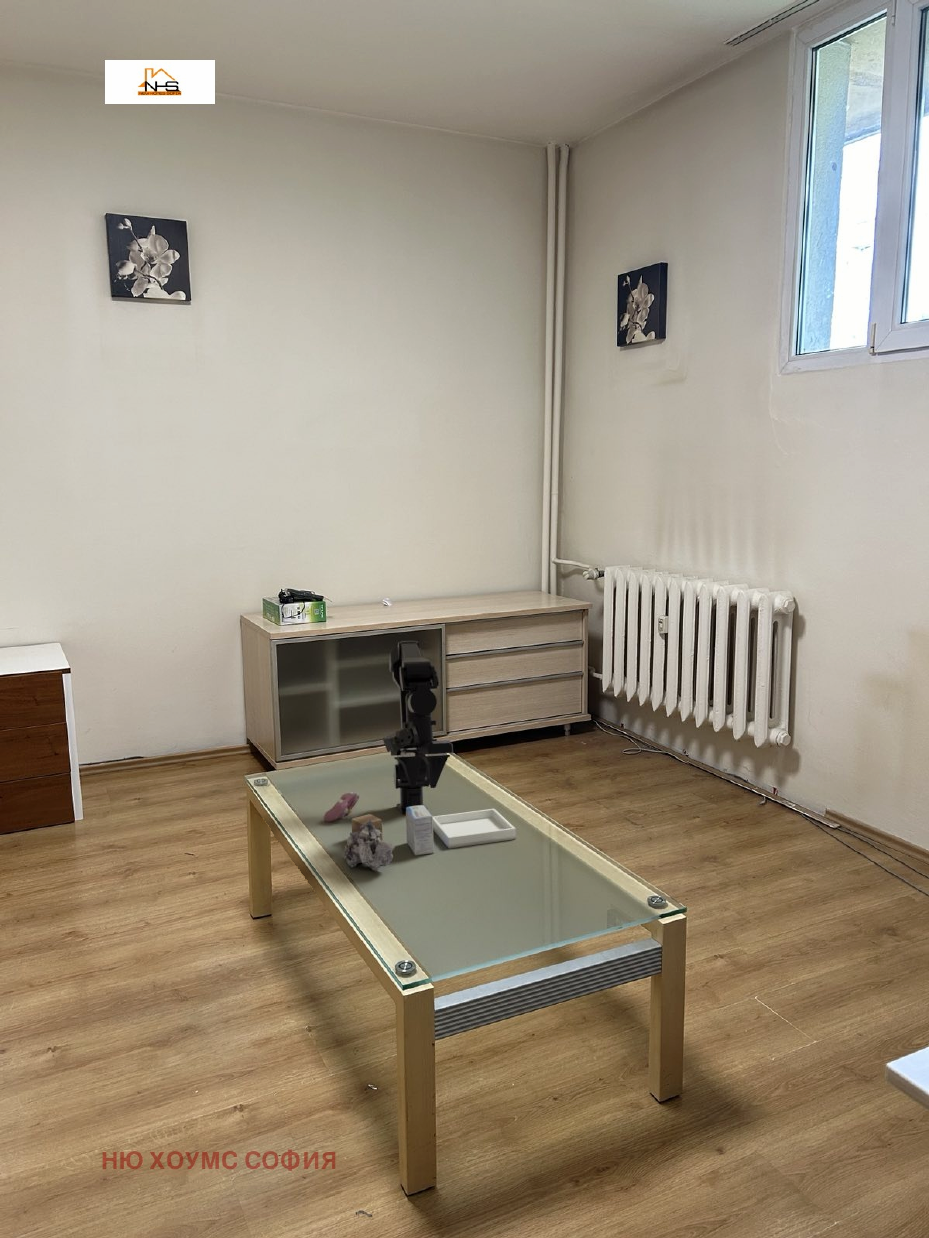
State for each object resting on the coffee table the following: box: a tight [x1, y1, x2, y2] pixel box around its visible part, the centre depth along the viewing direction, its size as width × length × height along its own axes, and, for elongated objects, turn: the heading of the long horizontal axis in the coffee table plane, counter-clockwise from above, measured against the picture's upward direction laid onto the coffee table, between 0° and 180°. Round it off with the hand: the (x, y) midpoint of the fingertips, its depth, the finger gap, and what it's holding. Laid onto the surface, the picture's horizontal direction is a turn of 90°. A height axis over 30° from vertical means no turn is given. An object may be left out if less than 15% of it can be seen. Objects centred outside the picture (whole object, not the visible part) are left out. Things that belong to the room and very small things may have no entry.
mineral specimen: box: [343, 820, 396, 873], centre depth 197 cm, size 13×10×11 cm
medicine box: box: [405, 804, 435, 856], centre depth 206 cm, size 8×4×9 cm, turn 17°
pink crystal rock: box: [323, 791, 360, 822], centre depth 226 cm, size 10×5×7 cm, turn 162°
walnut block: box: [351, 813, 383, 842], centre depth 211 cm, size 5×5×5 cm
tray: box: [432, 808, 517, 849], centre depth 215 cm, size 14×16×2 cm
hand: (422, 787), depth 204 cm, fingers open, 9 cm apart
